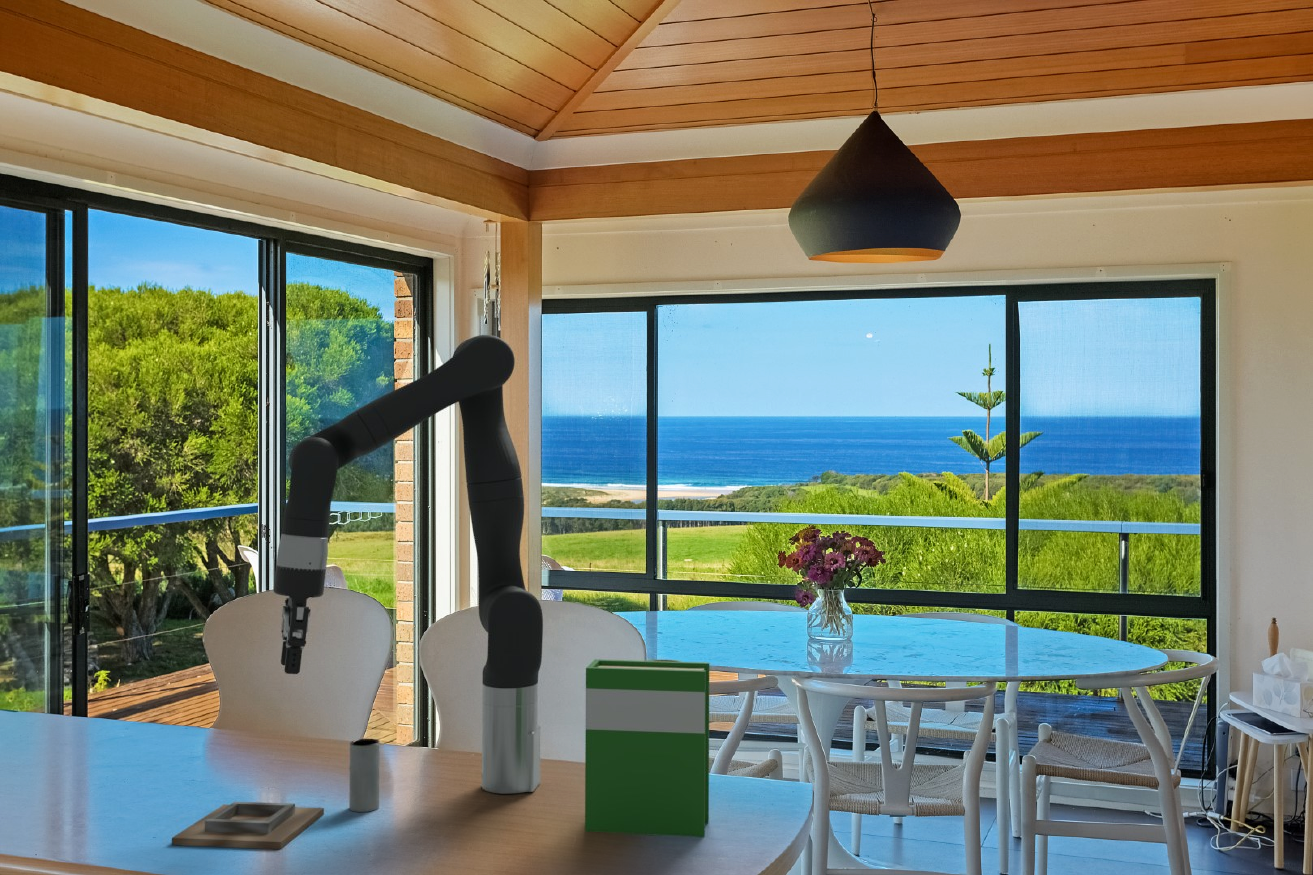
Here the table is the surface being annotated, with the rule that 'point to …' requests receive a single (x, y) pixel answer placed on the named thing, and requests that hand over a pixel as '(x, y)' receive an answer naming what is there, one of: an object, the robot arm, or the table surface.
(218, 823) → the base
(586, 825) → the hardback book
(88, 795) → the table surface
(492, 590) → the robot arm
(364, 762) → the grey cylinder
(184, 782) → the table surface
